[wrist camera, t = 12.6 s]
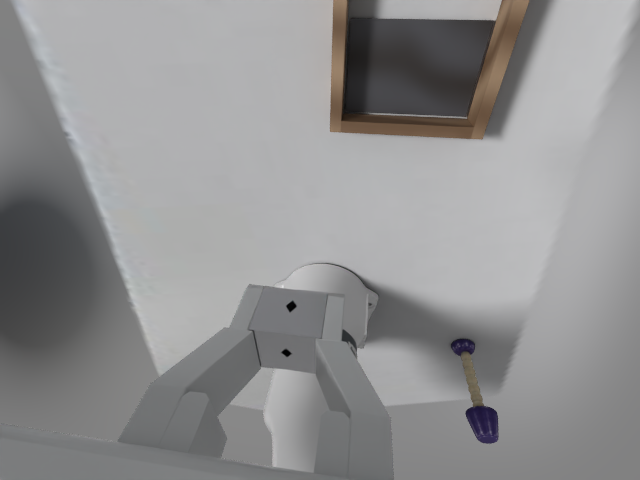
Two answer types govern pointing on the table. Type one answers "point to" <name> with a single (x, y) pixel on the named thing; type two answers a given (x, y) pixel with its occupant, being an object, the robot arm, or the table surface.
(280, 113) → the table surface
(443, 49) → the track
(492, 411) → the toy lamp
